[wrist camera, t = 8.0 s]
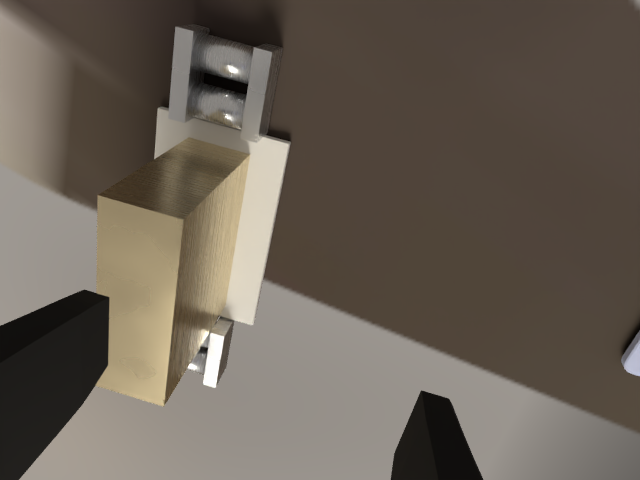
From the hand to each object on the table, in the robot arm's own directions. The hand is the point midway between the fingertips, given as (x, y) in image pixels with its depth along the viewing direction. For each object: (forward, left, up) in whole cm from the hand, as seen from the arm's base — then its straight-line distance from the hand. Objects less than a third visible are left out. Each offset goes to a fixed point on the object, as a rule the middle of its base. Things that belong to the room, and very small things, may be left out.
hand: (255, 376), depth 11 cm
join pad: (+4, +2, -9) cm, 10 cm away
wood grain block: (+4, +2, -9) cm, 10 cm away
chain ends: (+4, +2, -9) cm, 10 cm away
